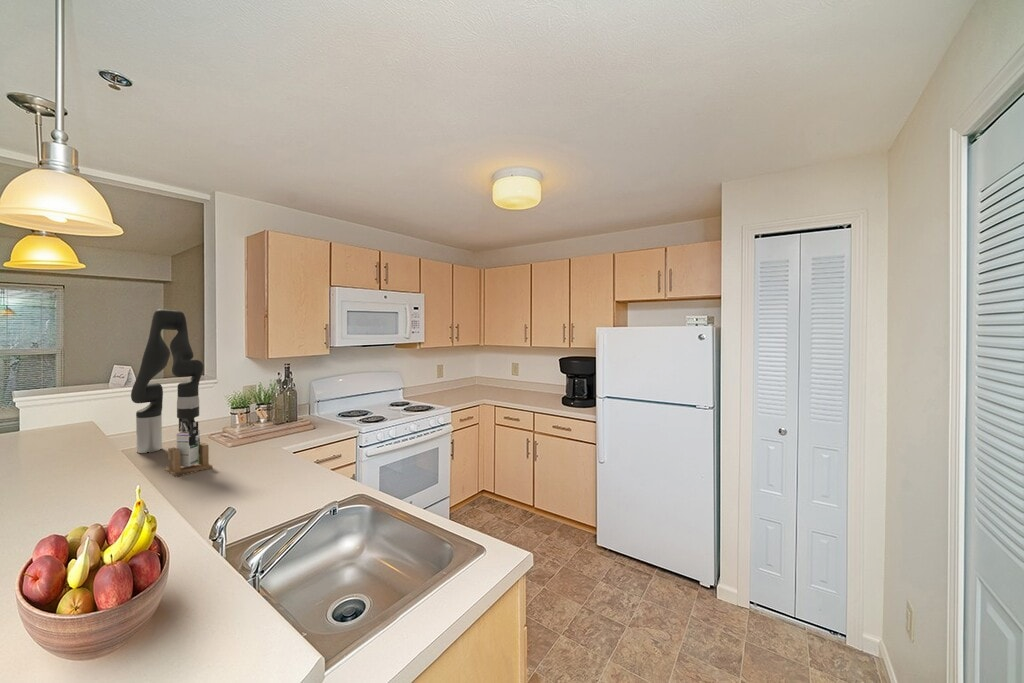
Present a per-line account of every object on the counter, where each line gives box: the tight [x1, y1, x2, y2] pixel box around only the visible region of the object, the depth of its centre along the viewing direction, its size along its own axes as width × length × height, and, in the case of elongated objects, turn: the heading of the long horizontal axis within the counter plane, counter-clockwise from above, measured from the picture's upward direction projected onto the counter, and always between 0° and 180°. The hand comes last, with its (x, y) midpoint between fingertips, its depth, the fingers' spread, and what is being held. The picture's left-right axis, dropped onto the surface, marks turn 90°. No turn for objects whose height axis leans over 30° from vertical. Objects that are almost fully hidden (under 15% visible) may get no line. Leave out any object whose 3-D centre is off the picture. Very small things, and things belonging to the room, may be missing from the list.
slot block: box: [164, 441, 213, 478], centre depth 172 cm, size 12×13×10 cm
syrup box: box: [175, 429, 201, 467], centre depth 172 cm, size 6×6×14 cm
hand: (188, 443), depth 172 cm, fingers closed on syrup box, 7 cm apart
